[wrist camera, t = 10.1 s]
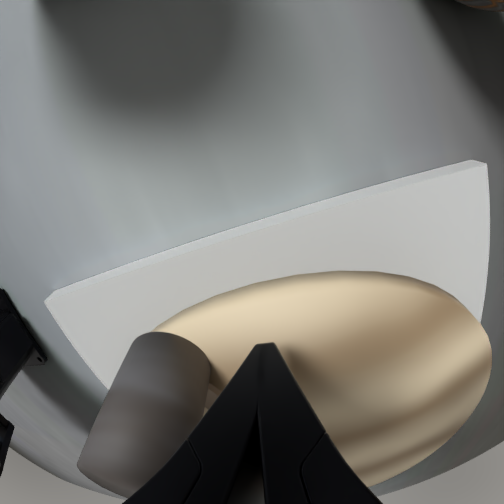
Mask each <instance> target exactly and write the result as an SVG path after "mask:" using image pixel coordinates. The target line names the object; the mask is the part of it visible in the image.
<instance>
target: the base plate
mask: <svg viewBox="0 0 504 504" xmlns="http://www.w3.org/2000/svg"><path fill="white" fill-rule="evenodd" d="M489 242H490V201H489V183H488V171H487V164H485V163H482V162H478V161H475V160H468V161H464V162H460V163H456V164H452V165H448V166H444V167H440V168H437V169H433V170H429V171H425V172H421V173H418V174H414V175H410V176H406V177H403V178H399V179H395V180H392V181H388V182H385V183H381V184H377V185H374V186H370V187H367V188H363V189H360V190H356V191H353V192H349V193H346V194H342V195H339V196H336V197H332V198H329V199H325V200H322V201H319V202H315V203H312V204H309V205H305V206H302V207H299V208H295V209H292V210H289V211H286V212H282V213H279V214H276V215H273V216H270V217H266V218H263V219H260V220H257V221H254V222H251V223H247V224H244V225H241V226H238V227H235V228H232V229H229V230H226V231H223V232H220V233H216V234H213V235H210V236H207V237H204V238H201V239H198V240H195V241H192V242H189V243H186V244H183V245H180V246H178V247H175V248H172V249H169V250H166V251H163V252H160V253H157V254H154V255H151V256H148V257H146V258H143V259H140V260H137V261H134V262H131V263H129V264H126V265H123V266H120V267H117V268H115V269H112V270H109V271H106V272H103V273H101V274H98V275H95V276H93V277H90V278H87V279H84V280H82V281H79V282H76V283H74V284H71V285H68V286H66V287H63V288H60V289H58V290H55V291H54V292H53V293H52V294H51V295H50V296H49V297H48V298H47V299H46V300H45V301H44V303H45V304H46V306H47V308H48V309H49V311H50V312H51V314H52V316H53V317H54V319H55V320H56V322H57V323H58V325H59V326H60V328H61V329H62V331H63V332H64V334H65V335H66V337H67V338H68V339H69V341H70V342H71V344H72V345H73V346H74V348H75V349H76V350H77V352H78V353H79V354H80V356H81V357H82V358H83V360H84V361H85V362H86V364H87V365H88V366H89V367H90V369H91V370H92V371H93V372H94V374H95V375H96V376H97V377H98V378H99V380H100V381H101V382H102V383H103V384H104V386H105V387H106V388H107V389H108V390H109V389H110V387H111V385H112V383H113V381H114V379H115V377H116V374H117V372H118V370H119V368H120V366H121V364H122V362H123V360H124V358H125V356H126V354H127V352H128V350H129V348H130V346H131V344H132V343H133V341H134V340H135V339H136V338H137V337H138V336H140V335H142V334H145V333H148V332H151V331H152V330H153V329H154V328H155V327H157V326H158V325H159V324H161V323H163V322H164V321H166V320H167V319H169V318H171V317H172V316H174V315H175V314H177V313H179V312H180V311H182V310H184V309H186V308H188V307H190V306H193V305H195V304H197V303H199V302H202V301H204V300H206V299H208V298H211V297H213V296H215V295H218V294H221V293H224V292H227V291H231V290H234V289H237V288H240V287H243V286H247V285H250V284H253V283H257V282H262V281H267V280H272V279H277V278H282V277H287V276H292V275H297V274H307V273H318V272H328V271H378V272H384V273H391V274H397V275H404V276H409V277H412V278H415V279H418V280H422V281H425V282H428V283H431V284H434V285H436V286H437V287H439V288H441V289H443V290H444V291H446V292H448V293H450V294H451V295H453V296H454V297H455V298H456V299H458V300H459V301H460V302H461V303H462V304H463V305H464V306H465V307H466V308H467V309H468V310H469V311H470V312H471V313H472V315H473V316H474V317H475V318H476V319H477V320H478V322H479V323H480V322H481V317H482V311H483V305H484V298H485V291H486V282H487V273H488V260H489Z"/></svg>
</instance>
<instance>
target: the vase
mask: <svg viewBox="0 0 504 504" xmlns="http://www.w3.org/2000/svg"><path fill="white" fill-rule="evenodd" d="M455 1H457V2H460V3H462V4H464V5H467V6H469V7H472V8H477V9H481V10H487V11H498V12H504V0H455Z"/></svg>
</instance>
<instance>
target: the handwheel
mask: <svg viewBox="0 0 504 504" xmlns="http://www.w3.org/2000/svg"><path fill="white" fill-rule="evenodd" d="M268 342H274V343H275V344H276V345H277V347H278V349H279V351H280V353H281V354H282V356H283V358H284V360H285V361H286V363H287V365H288V367H289V368H290V370H291V372H292V373H293V375H294V377H295V379H296V380H297V382H298V384H299V386H300V387H301V389H302V391H303V392H304V394H305V396H306V398H307V399H308V401H309V403H310V404H311V406H312V408H313V409H314V411H315V413H316V415H317V416H318V418H319V420H320V421H321V423H322V425H323V426H324V428H325V430H326V433H328V434H329V436H330V438H331V439H332V441H333V443H334V444H335V446H336V447H337V449H338V450H339V452H340V453H341V455H342V456H343V458H344V459H345V461H346V462H347V463H348V465H349V466H350V467H351V468H352V470H353V471H354V472H355V473H356V475H357V476H358V477H359V478H360V479H361V481H362V482H363V483H364V484H365V485H366V486H367V487H370V486H373V485H376V484H378V483H381V482H383V481H385V480H387V479H390V478H392V477H394V476H396V475H398V474H400V473H402V472H404V471H406V470H407V469H409V468H411V467H412V466H414V465H416V464H417V463H419V462H421V461H422V460H424V459H425V458H426V457H428V456H429V455H431V454H432V453H433V452H435V451H436V450H437V449H438V448H440V447H441V446H442V445H443V444H444V443H446V442H447V441H448V440H449V439H450V438H451V437H452V436H453V435H454V434H455V433H456V432H457V431H458V430H459V429H460V428H461V426H462V425H463V424H464V423H465V422H466V421H467V419H468V418H469V417H470V415H471V414H472V412H473V411H474V409H475V408H476V406H477V405H478V403H479V401H480V399H481V397H482V395H483V394H484V391H485V389H486V386H487V383H488V380H489V377H490V372H491V366H492V350H491V346H490V342H489V338H488V336H487V334H486V332H485V331H484V329H483V327H482V326H481V324H480V323H479V322H478V320H477V319H476V318H475V317H474V316H473V315H472V313H471V312H470V311H469V310H468V309H467V308H466V307H465V306H464V305H463V304H462V303H461V302H460V301H459V300H458V299H456V298H455V297H454V296H453V295H451V294H450V293H448V292H446V291H444V290H443V289H441V288H439V287H437V286H436V285H434V284H431V283H428V282H425V281H422V280H418V279H415V278H412V277H409V276H404V275H397V274H391V273H384V272H378V271H328V272H318V273H307V274H297V275H292V276H287V277H282V278H277V279H272V280H267V281H262V282H257V283H253V284H250V285H247V286H243V287H240V288H237V289H234V290H231V291H227V292H224V293H221V294H218V295H215V296H213V297H211V298H208V299H206V300H204V301H202V302H199V303H197V304H195V305H193V306H190V307H188V308H186V309H184V310H182V311H180V312H179V313H177V314H175V315H174V316H172V317H171V318H169V319H167V320H166V321H164V322H163V323H161V324H159V325H158V326H157V327H155V328H154V329H153V330H152V331H151V332H148V333H145V334H142V335H140V336H138V337H137V338H136V339H135V340H134V341H133V343H132V344H131V346H130V348H129V350H128V352H127V354H126V356H125V358H124V360H123V362H122V364H121V366H120V368H119V370H118V372H117V374H116V377H115V379H114V381H113V383H112V385H111V387H110V389H109V391H108V393H107V395H106V398H105V400H104V402H103V404H102V406H101V408H100V411H99V413H98V415H97V417H96V420H95V422H94V424H93V426H92V429H91V431H90V433H89V436H88V438H87V440H86V443H85V445H84V448H83V450H82V452H81V455H80V457H79V460H78V462H77V468H78V469H79V470H80V471H81V472H82V473H83V474H84V475H85V476H86V477H87V478H89V479H90V480H92V481H93V482H95V483H96V484H98V485H100V486H101V487H103V488H105V489H107V490H109V491H111V492H114V493H116V494H118V495H121V496H123V497H126V498H129V497H131V496H132V495H133V494H134V493H135V492H136V491H137V490H138V489H140V488H141V487H142V486H143V485H144V484H145V483H146V482H147V481H148V480H150V479H151V478H152V477H153V476H154V475H155V474H156V473H157V472H158V471H159V470H160V469H161V468H162V467H163V466H164V465H165V463H166V462H167V461H168V460H169V459H170V458H171V456H172V455H173V454H174V453H175V452H176V451H177V449H178V448H179V447H180V446H181V444H182V443H183V442H184V441H185V439H188V436H189V434H190V433H191V432H192V431H193V429H194V428H195V427H196V425H197V424H198V423H199V421H200V420H201V419H202V418H203V416H204V415H205V414H206V412H207V411H208V410H209V408H210V407H211V406H212V404H213V403H214V402H215V400H216V399H217V397H218V396H219V395H220V393H221V392H222V391H223V389H224V388H225V387H226V385H227V384H228V382H229V381H230V380H231V378H232V377H233V375H234V374H235V373H236V371H237V370H238V368H239V367H240V366H241V364H242V363H243V361H244V360H245V359H246V357H247V356H248V354H249V353H250V351H251V350H252V348H253V347H254V346H255V345H256V344H259V343H268Z"/></svg>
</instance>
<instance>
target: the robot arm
mask: <svg viewBox="0 0 504 504" xmlns="http://www.w3.org/2000/svg"><path fill="white" fill-rule="evenodd" d="M46 362H47V357H46V356H45V354H44V353H43V352H42V350H41V349H40V348H39V346H38V345H37V343H36V342H35V341H34V339H33V338H32V336H31V335H30V333H29V332H28V330H27V329H26V327H25V326H24V324H23V323H22V321H21V320H20V318H19V317H18V315H17V313H16V312H15V310H14V309H13V307H12V305H11V304H10V302H9V300H8V298H7V297H6V295H5V293H4V292H3V290H2V289H1V288H0V399H1V398H2V396H3V395H4V393H5V392H6V390H7V389H8V387H9V386H10V384H11V383H12V382H13V380H14V379H15V377H16V376H17V375H18V373H19V372H20V370H21V369H22V368H23V366H33V365H44V364H45V363H46ZM13 430H14V425H13V424H12V423H11V422H10V421H8V420H6V419H5V418H4V417H3V416H2V415H1V413H0V476H1V474H2V471H3V466H4V463H5V459H6V455H7V451H8V447H9V444H10V440H11V437H12V434H13ZM122 504H383V503H382V502H381V501H380V500H379V499H378V498H377V497H376V496H375V495H374V494H373V493H372V492H371V490H370V489H369V488H368V487H367V486H366V485H365V484H364V483H363V482H362V481H361V479H360V478H359V477H358V476H357V475H356V473H355V472H354V471H353V470H352V468H351V467H350V466H349V465H348V463H347V462H346V461H345V459H344V458H343V456H342V455H341V453H340V452H339V450H338V449H337V447H336V446H335V444H334V443H333V441H332V439H331V438H330V436H329V434H328V433H326V430H325V428H324V426H323V425H322V423H321V421H320V420H319V418H318V416H317V415H316V413H315V411H314V409H313V408H312V406H311V404H310V403H309V401H308V399H307V398H306V396H305V394H304V392H303V391H302V389H301V387H300V386H299V384H298V382H297V380H296V379H295V377H294V375H293V373H292V372H291V370H290V368H289V367H288V365H287V363H286V361H285V360H284V358H283V356H282V354H281V353H280V351H279V349H278V347H277V345H276V344H275V343H274V342H268V343H259V344H256V345H255V346H254V347H253V348H252V350H251V351H250V353H249V354H248V356H247V357H246V359H245V360H244V361H243V363H242V364H241V366H240V367H239V368H238V370H237V371H236V373H235V374H234V375H233V377H232V378H231V380H230V381H229V382H228V384H227V385H226V387H225V388H224V389H223V391H222V392H221V393H220V395H219V396H218V397H217V399H216V400H215V402H214V403H213V404H212V406H211V407H210V408H209V410H208V411H207V412H206V414H205V415H204V416H203V418H202V419H201V420H200V421H199V423H198V424H197V425H196V427H195V428H194V429H193V431H192V432H191V433H190V434H189V436H188V439H185V441H184V442H183V443H182V444H181V446H180V447H179V448H178V449H177V451H176V452H175V453H174V454H173V455H172V456H171V458H170V459H169V460H168V461H167V462H166V463H165V465H164V466H163V467H162V468H161V469H160V470H159V471H158V472H157V473H156V474H155V475H154V476H153V477H152V478H151V479H150V480H148V481H147V482H146V483H145V484H144V485H143V486H142V487H141V488H140V489H138V490H137V491H136V492H135V493H134V494H133V495H132V496H131V497H129V498H128V499H127V500H126V501H125V502H124V503H122Z"/></svg>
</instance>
